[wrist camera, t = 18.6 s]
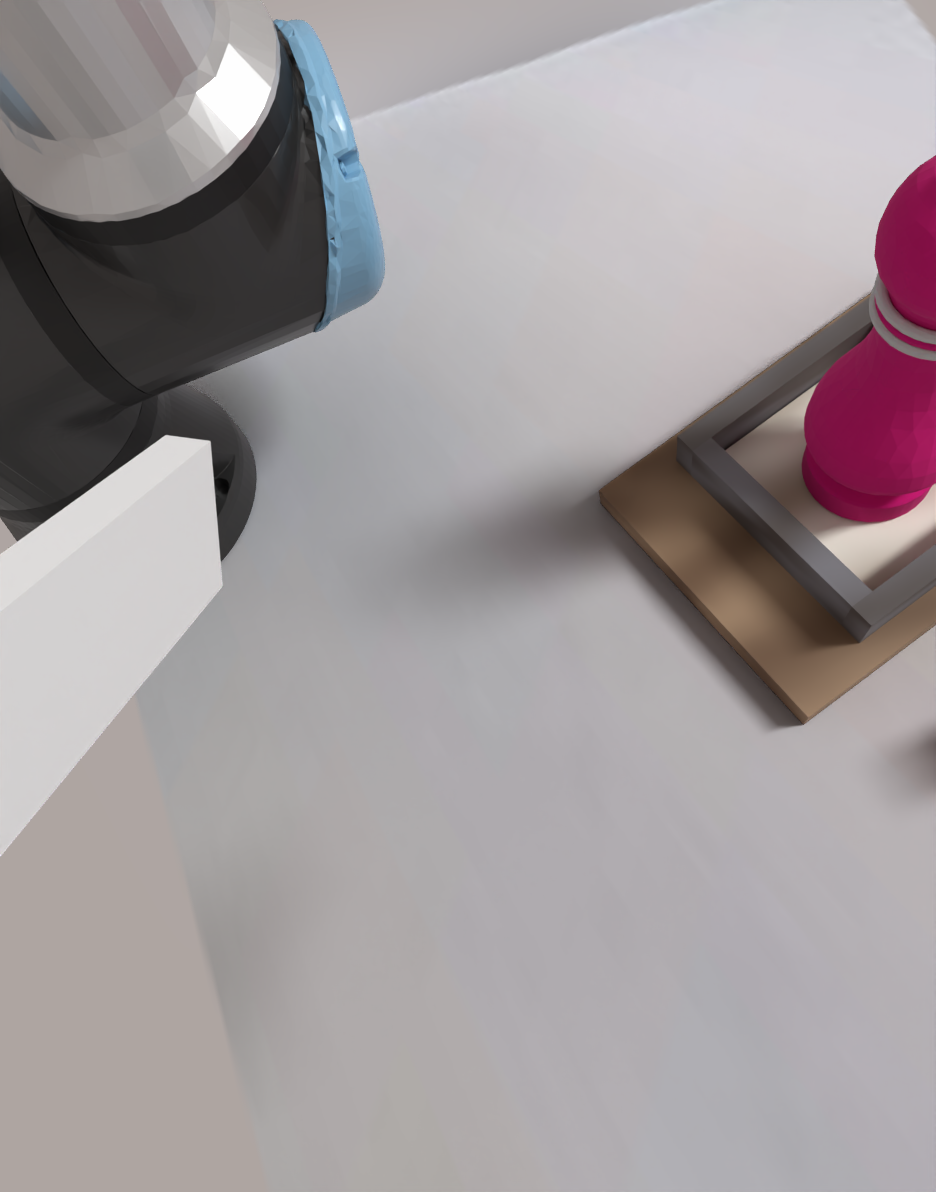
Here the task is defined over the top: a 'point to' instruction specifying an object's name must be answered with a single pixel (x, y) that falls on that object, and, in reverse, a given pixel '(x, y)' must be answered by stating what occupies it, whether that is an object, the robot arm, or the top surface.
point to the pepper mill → (884, 377)
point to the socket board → (781, 536)
